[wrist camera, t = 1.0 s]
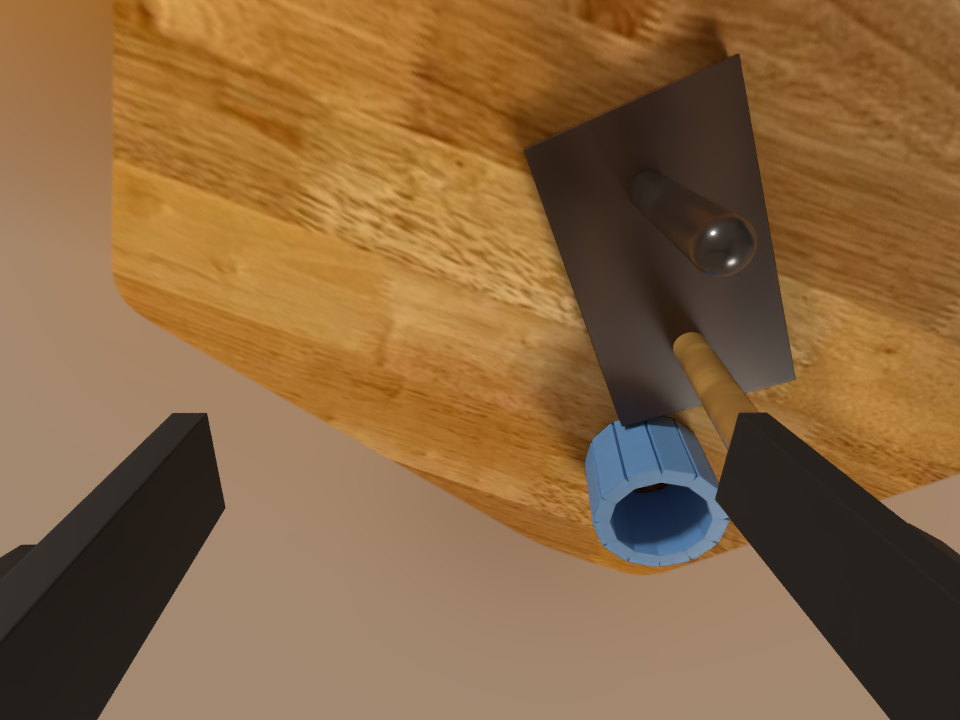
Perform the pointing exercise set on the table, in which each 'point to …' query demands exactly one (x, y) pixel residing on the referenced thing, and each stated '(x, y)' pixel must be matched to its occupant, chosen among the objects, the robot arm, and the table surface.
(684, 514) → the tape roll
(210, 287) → the table surface
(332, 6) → the table surface
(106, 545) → the robot arm
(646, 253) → the peg stand
